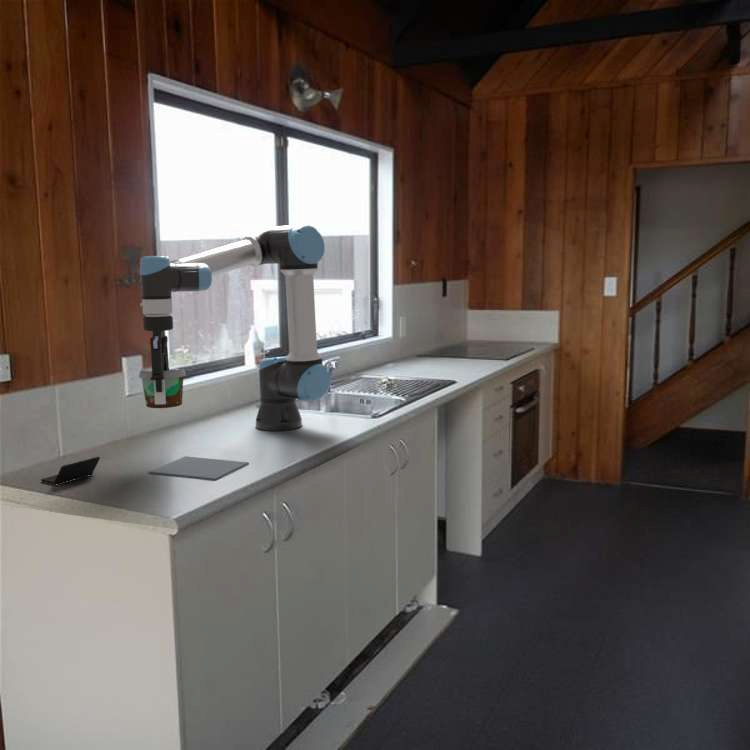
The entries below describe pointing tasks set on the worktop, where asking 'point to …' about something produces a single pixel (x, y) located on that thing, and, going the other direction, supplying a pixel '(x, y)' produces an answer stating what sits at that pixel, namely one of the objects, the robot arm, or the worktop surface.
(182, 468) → the mat
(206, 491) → the worktop surface
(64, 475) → the handheld gaming console
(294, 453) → the worktop surface
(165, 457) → the worktop surface
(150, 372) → the food container
